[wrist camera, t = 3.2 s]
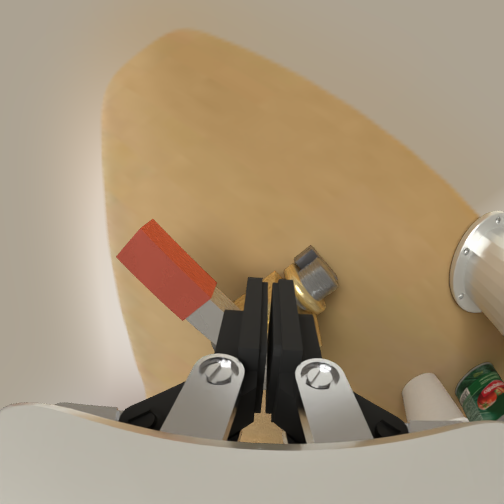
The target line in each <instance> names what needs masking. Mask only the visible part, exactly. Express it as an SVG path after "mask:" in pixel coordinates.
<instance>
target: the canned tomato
mask: <svg viewBox="0 0 504 504" xmlns="http://www.w3.org/2000/svg"><path fill="white" fill-rule="evenodd" d="M455 394H456V396H457V397H458V399H459V402H460V403H461V406H462V407H463V410H464V412H465V414H466V416H467V418H468V420H469V422H471V421H484V420H491V421H503V422H504V382H503V381H502V379H501V377H500V376H499V374H498V373H497V371H496V370H495V369H494V367H493V365H492V364H491V363H489V362H486V363H482V364H480V365H478V366H476V367H474V368H473V369H472V370H470V371H469V372H468V373H467V374H466V375H465V376H464V377H463V378H462V379H461V380H460V382H459V383H458V385H457V387H456V390H455Z"/></svg>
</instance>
